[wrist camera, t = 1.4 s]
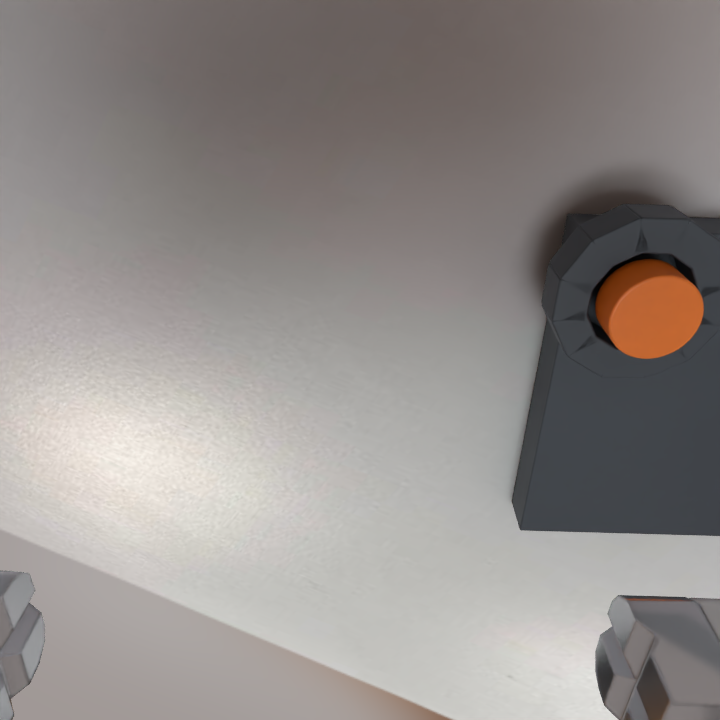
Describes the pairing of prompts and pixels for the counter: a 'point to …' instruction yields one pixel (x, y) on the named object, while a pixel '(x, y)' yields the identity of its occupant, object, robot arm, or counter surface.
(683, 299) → the button
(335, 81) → the counter surface
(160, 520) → the counter surface
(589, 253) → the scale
